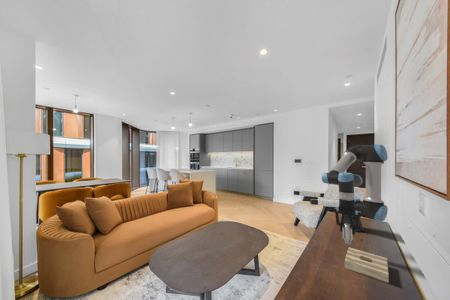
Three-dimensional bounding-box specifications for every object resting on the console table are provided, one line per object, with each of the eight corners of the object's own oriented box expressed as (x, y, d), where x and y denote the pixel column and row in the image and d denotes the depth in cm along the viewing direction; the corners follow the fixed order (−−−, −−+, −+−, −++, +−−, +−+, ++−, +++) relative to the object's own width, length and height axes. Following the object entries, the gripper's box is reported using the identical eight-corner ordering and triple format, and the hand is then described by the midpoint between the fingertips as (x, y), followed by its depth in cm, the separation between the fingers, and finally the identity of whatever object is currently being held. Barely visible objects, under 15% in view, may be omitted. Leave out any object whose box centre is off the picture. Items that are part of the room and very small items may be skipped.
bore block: (348, 254, 99) (348, 247, 99) (387, 266, 89) (386, 258, 89) (344, 268, 87) (344, 259, 87) (388, 283, 77) (388, 274, 77)
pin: (345, 241, 106) (344, 222, 106) (351, 242, 104) (350, 224, 104) (344, 243, 103) (343, 224, 104) (350, 245, 101) (350, 225, 101)
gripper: (329, 198, 106) (330, 236, 106) (363, 202, 96) (364, 245, 95) (331, 195, 112) (333, 232, 112) (364, 199, 101) (365, 240, 101)
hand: (347, 238), depth 104 cm, fingers closed on pin, 3 cm apart
